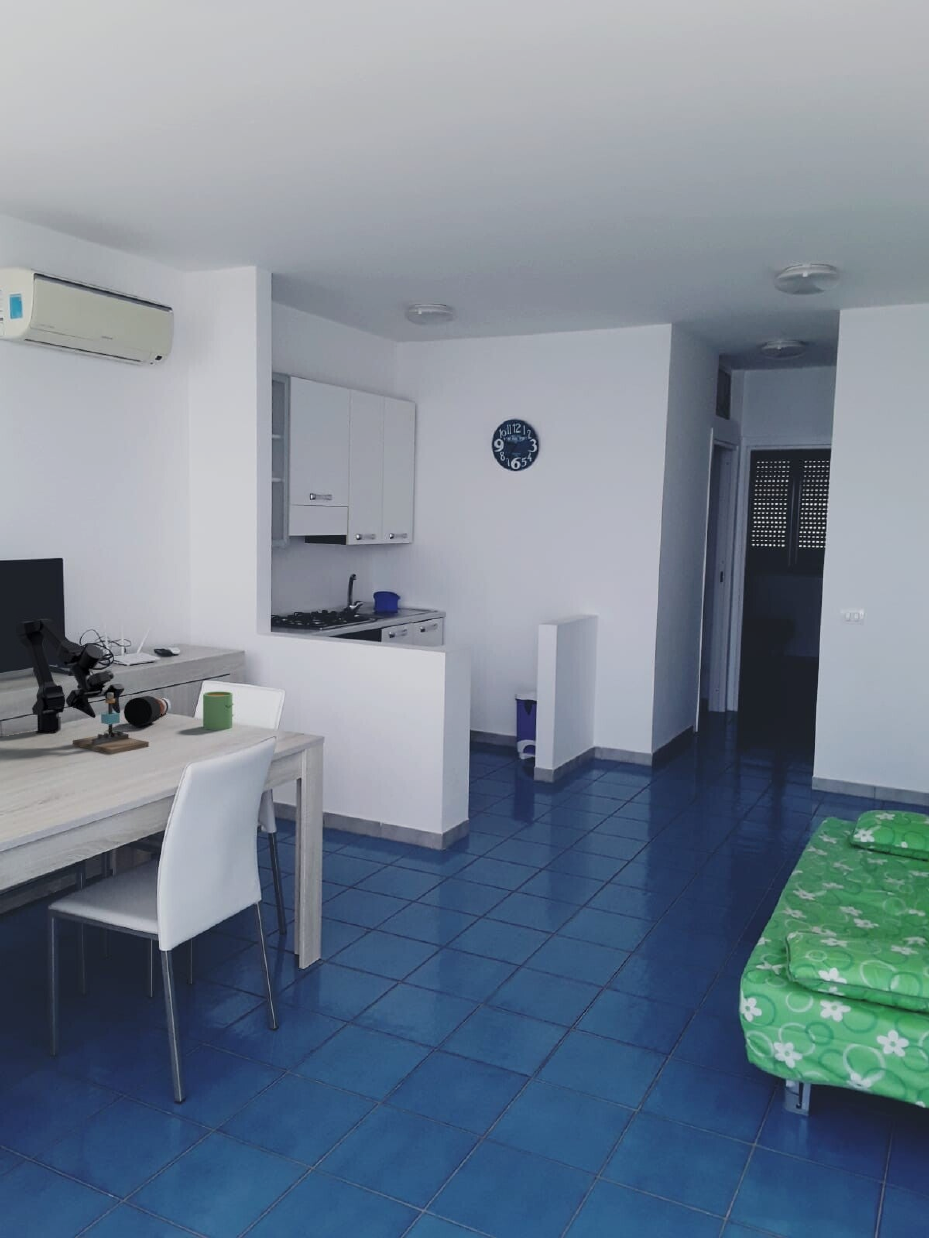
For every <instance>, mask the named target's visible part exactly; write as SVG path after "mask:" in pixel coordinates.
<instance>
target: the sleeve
mask: <svg viewBox="0 0 929 1238" xmlns="http://www.w3.org/2000/svg"><path fill="white" fill-rule="evenodd" d="M120 715H121V714H120V713H116V712H115V711H112V714H108V712H103V713H101V714H100V717H101V718H100V720H101V721H100V724H104V725H108V726H109V725H110V724H112V725H114V724H119V723H120V721H121V720H120V717H121V716H120Z"/></svg>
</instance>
